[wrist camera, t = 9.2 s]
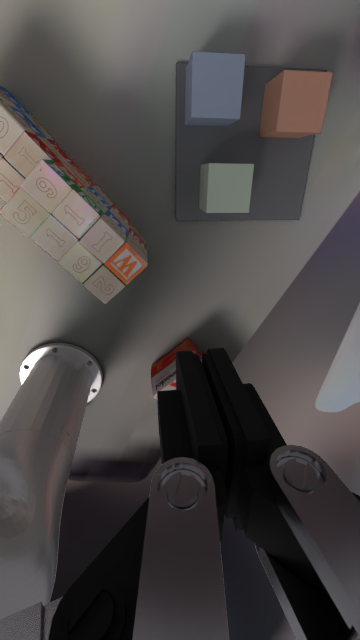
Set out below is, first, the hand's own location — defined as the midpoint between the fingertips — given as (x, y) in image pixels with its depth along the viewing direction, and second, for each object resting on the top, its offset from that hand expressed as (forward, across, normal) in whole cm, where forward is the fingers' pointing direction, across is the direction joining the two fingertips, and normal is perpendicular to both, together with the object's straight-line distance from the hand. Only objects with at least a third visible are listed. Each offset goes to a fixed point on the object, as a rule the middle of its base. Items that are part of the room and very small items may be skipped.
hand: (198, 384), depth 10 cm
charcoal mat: (+31, -12, -10) cm, 35 cm away
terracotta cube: (+31, -16, -14) cm, 37 cm away
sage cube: (+31, -8, -6) cm, 33 cm away
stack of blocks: (+32, +10, -5) cm, 34 cm away
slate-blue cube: (+31, -6, -15) cm, 35 cm away
